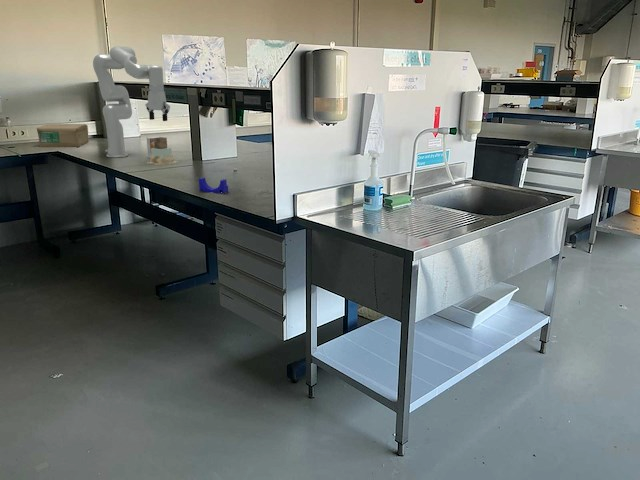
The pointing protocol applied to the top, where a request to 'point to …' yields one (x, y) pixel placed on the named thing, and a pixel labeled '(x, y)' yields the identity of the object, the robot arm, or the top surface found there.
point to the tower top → (161, 152)
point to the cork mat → (163, 164)
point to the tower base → (161, 159)
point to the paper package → (62, 135)
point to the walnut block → (160, 143)
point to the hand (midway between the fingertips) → (158, 120)
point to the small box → (150, 145)
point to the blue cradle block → (206, 188)
